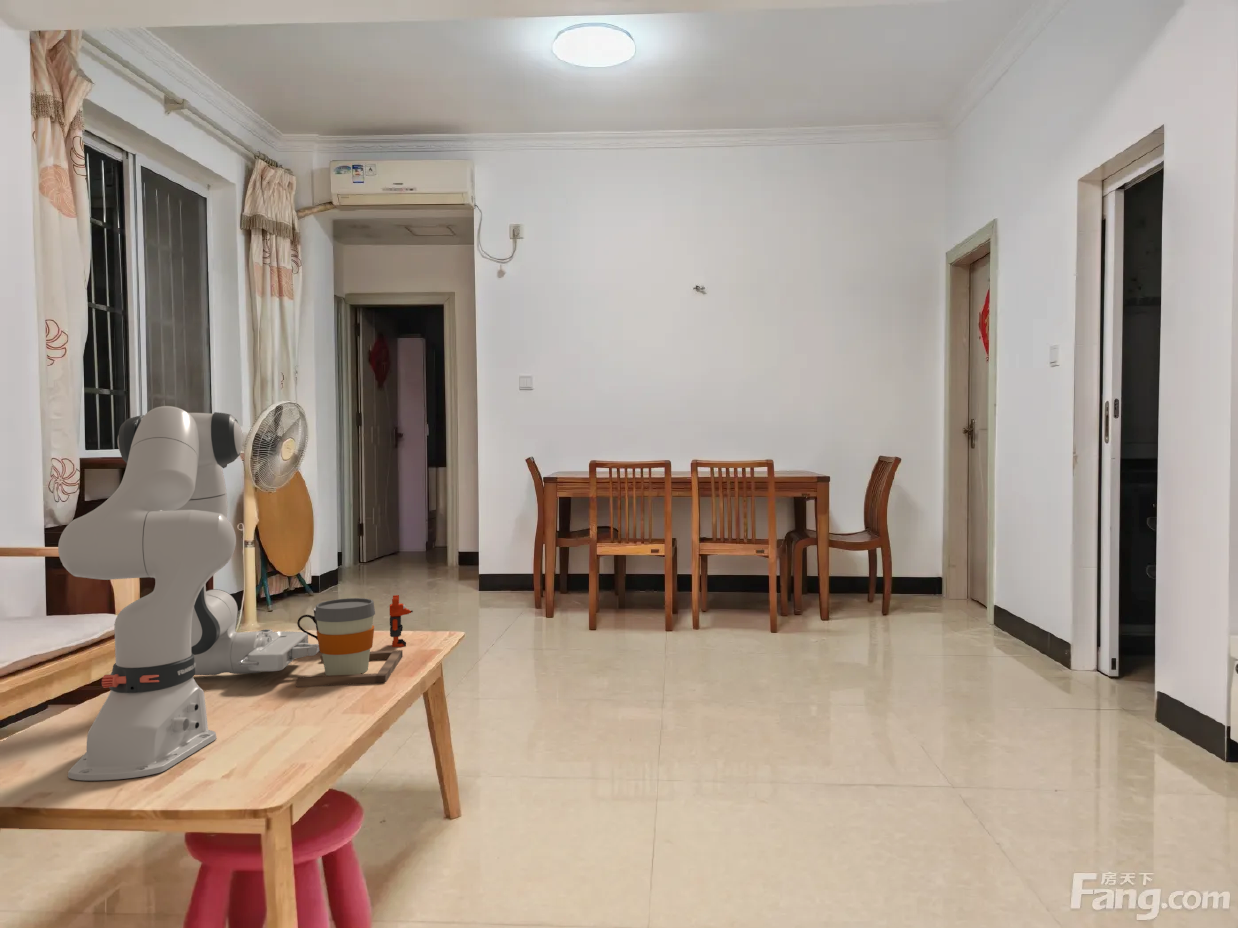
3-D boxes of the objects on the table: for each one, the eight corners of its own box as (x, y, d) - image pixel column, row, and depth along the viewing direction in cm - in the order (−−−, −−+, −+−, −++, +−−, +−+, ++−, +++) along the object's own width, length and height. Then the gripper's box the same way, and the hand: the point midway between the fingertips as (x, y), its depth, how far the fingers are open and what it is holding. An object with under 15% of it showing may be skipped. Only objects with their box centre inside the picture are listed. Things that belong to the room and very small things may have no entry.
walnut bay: (385, 682, 168) (385, 675, 168) (296, 686, 166) (295, 679, 166) (402, 656, 188) (402, 650, 188) (323, 659, 187) (323, 653, 187)
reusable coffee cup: (387, 670, 177) (385, 602, 177) (332, 683, 168) (330, 611, 168) (359, 660, 186) (358, 595, 185) (306, 671, 177) (304, 604, 177)
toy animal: (413, 647, 196) (411, 598, 196) (390, 649, 195) (388, 600, 195) (413, 640, 204) (412, 593, 204) (391, 641, 203) (390, 594, 203)
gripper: (234, 649, 165) (304, 646, 166) (267, 627, 185) (329, 625, 186) (235, 680, 165) (304, 677, 166) (268, 654, 185) (330, 652, 186)
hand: (318, 649), depth 176 cm, fingers closed
